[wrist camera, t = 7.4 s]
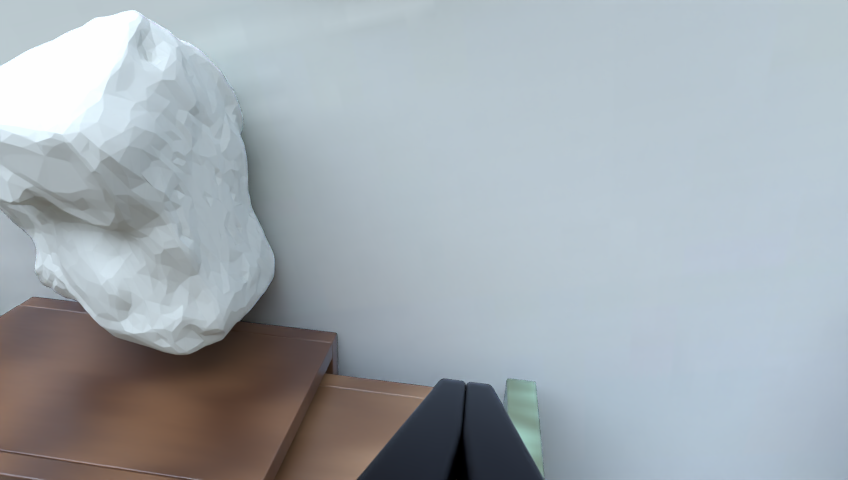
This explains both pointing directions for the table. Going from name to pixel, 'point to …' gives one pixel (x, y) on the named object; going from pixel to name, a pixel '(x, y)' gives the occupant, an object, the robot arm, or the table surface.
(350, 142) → the table surface
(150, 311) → the decorative stone
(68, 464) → the cabinet
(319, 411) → the drawer
